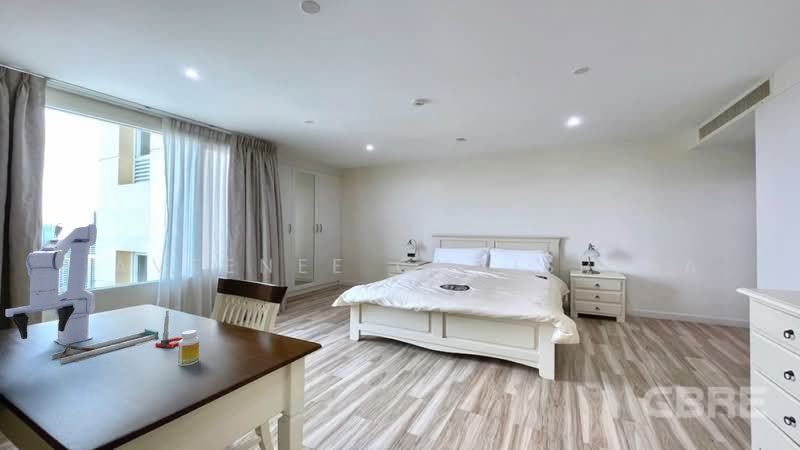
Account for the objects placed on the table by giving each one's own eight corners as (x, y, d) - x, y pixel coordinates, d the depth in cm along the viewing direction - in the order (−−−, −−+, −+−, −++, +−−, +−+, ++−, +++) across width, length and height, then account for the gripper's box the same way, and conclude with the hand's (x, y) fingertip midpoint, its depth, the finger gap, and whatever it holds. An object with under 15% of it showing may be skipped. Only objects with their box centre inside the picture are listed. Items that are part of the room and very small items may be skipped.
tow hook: (175, 339, 119) (152, 347, 109) (177, 305, 119) (155, 310, 110) (194, 340, 117) (173, 348, 108) (196, 306, 118) (175, 311, 109)
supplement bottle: (202, 360, 99) (203, 330, 99) (186, 367, 94) (187, 335, 94) (190, 358, 101) (191, 328, 101) (174, 364, 96) (174, 333, 96)
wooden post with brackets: (55, 356, 98) (64, 342, 100) (87, 359, 104) (95, 346, 105) (55, 358, 97) (64, 343, 99) (88, 361, 103) (96, 347, 104)
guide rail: (51, 358, 99) (51, 350, 99) (147, 334, 122) (147, 328, 122) (63, 365, 94) (64, 357, 94) (160, 338, 118) (160, 332, 118)
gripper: (11, 295, 86) (10, 344, 86) (82, 287, 99) (81, 329, 99) (3, 293, 89) (2, 340, 89) (73, 285, 102) (72, 326, 102)
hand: (43, 334), depth 94 cm, fingers open, 7 cm apart
